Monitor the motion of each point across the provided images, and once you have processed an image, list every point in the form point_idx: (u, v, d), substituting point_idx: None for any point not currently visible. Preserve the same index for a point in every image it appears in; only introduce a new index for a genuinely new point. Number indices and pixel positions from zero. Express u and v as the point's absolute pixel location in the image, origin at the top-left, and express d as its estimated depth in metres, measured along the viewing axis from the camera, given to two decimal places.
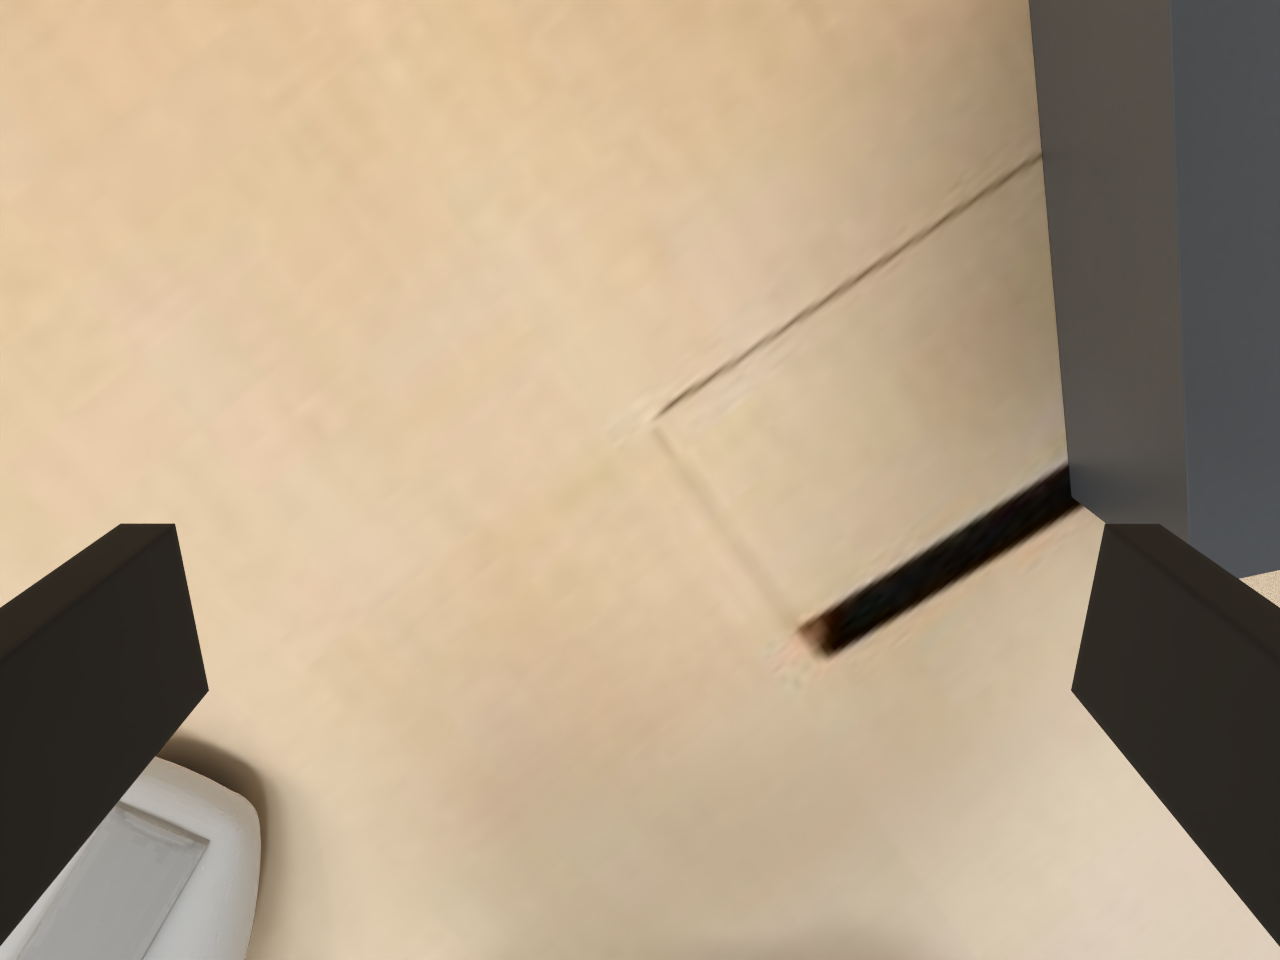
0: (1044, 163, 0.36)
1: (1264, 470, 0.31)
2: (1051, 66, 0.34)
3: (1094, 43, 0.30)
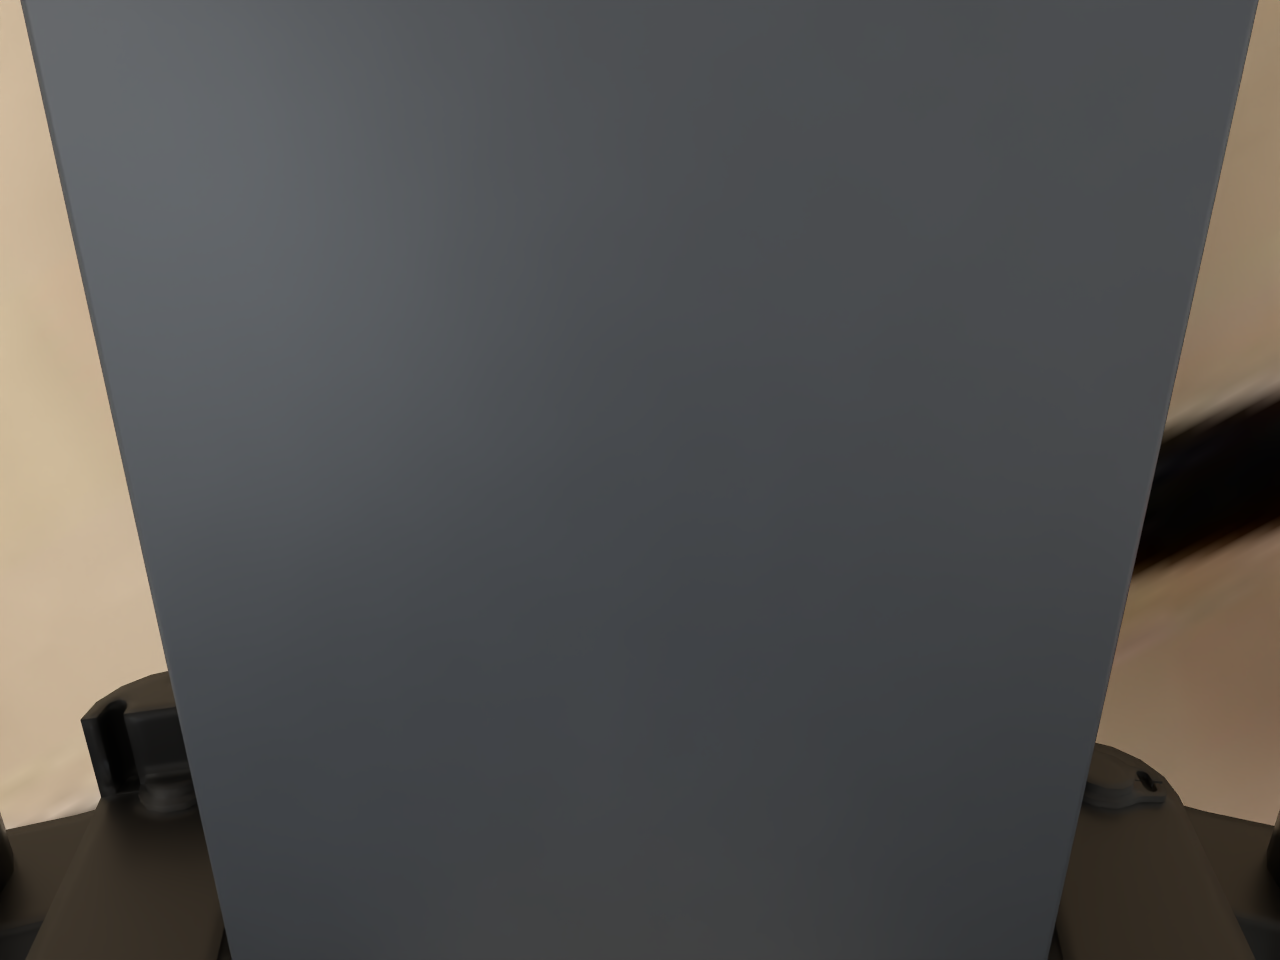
0: None
1: None
2: None
3: None
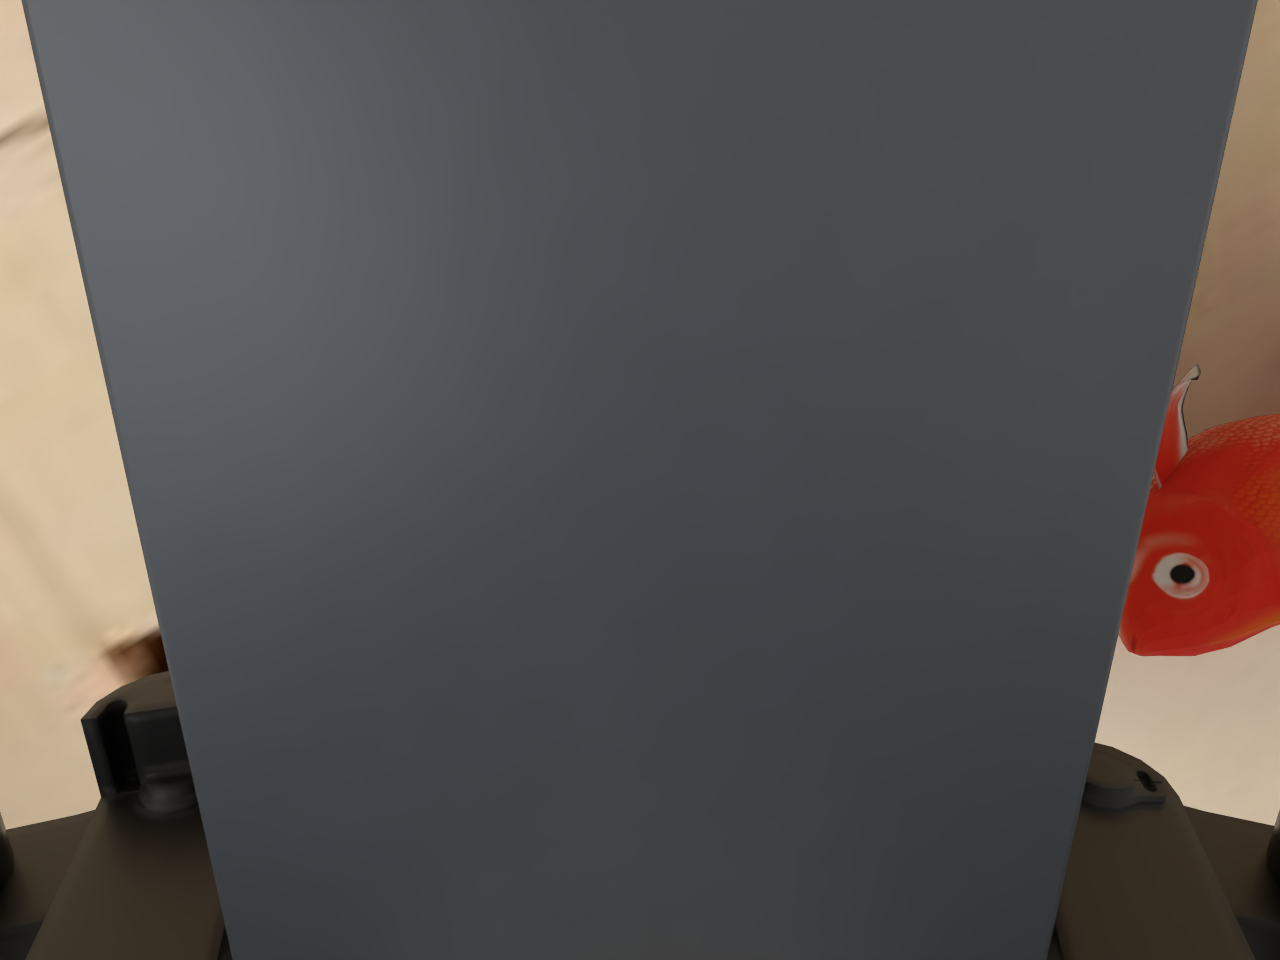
0: None
1: None
2: None
3: None
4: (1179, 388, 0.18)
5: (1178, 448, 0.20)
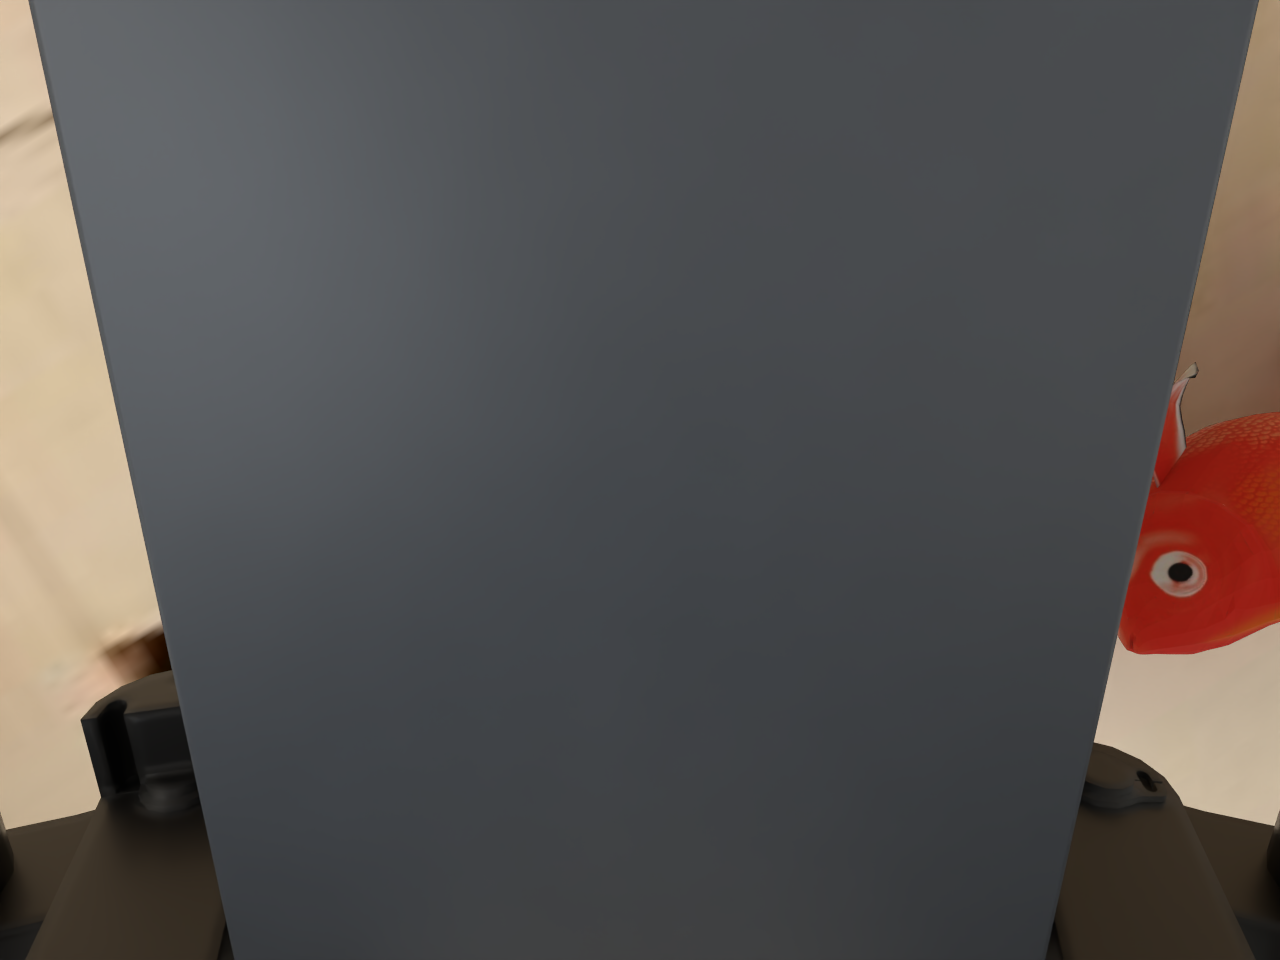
0: None
1: None
2: None
3: None
4: (1177, 386, 0.18)
5: (1176, 446, 0.20)
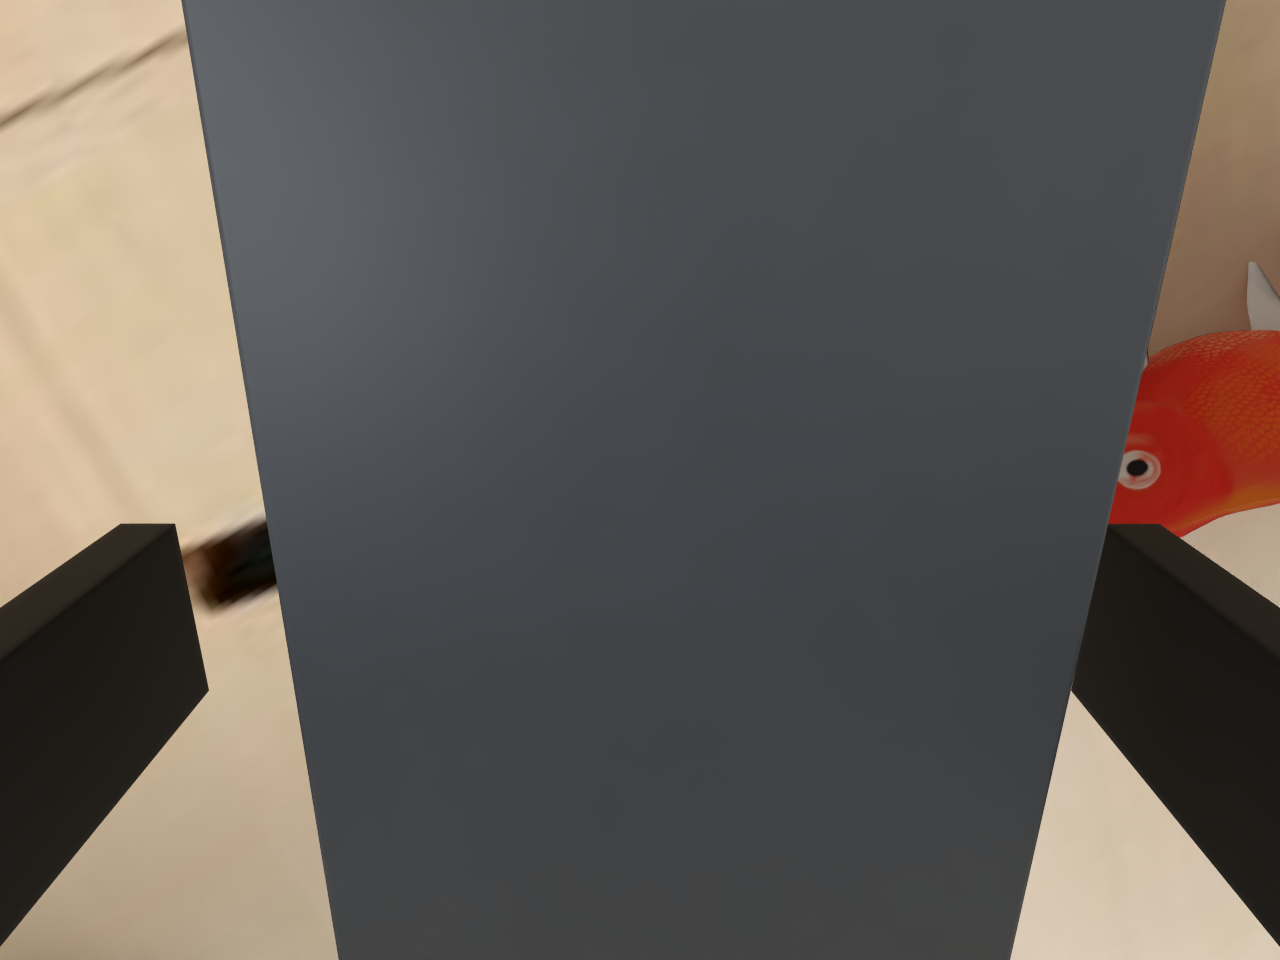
0: None
1: (703, 877, 0.06)
2: None
3: None
4: None
5: None
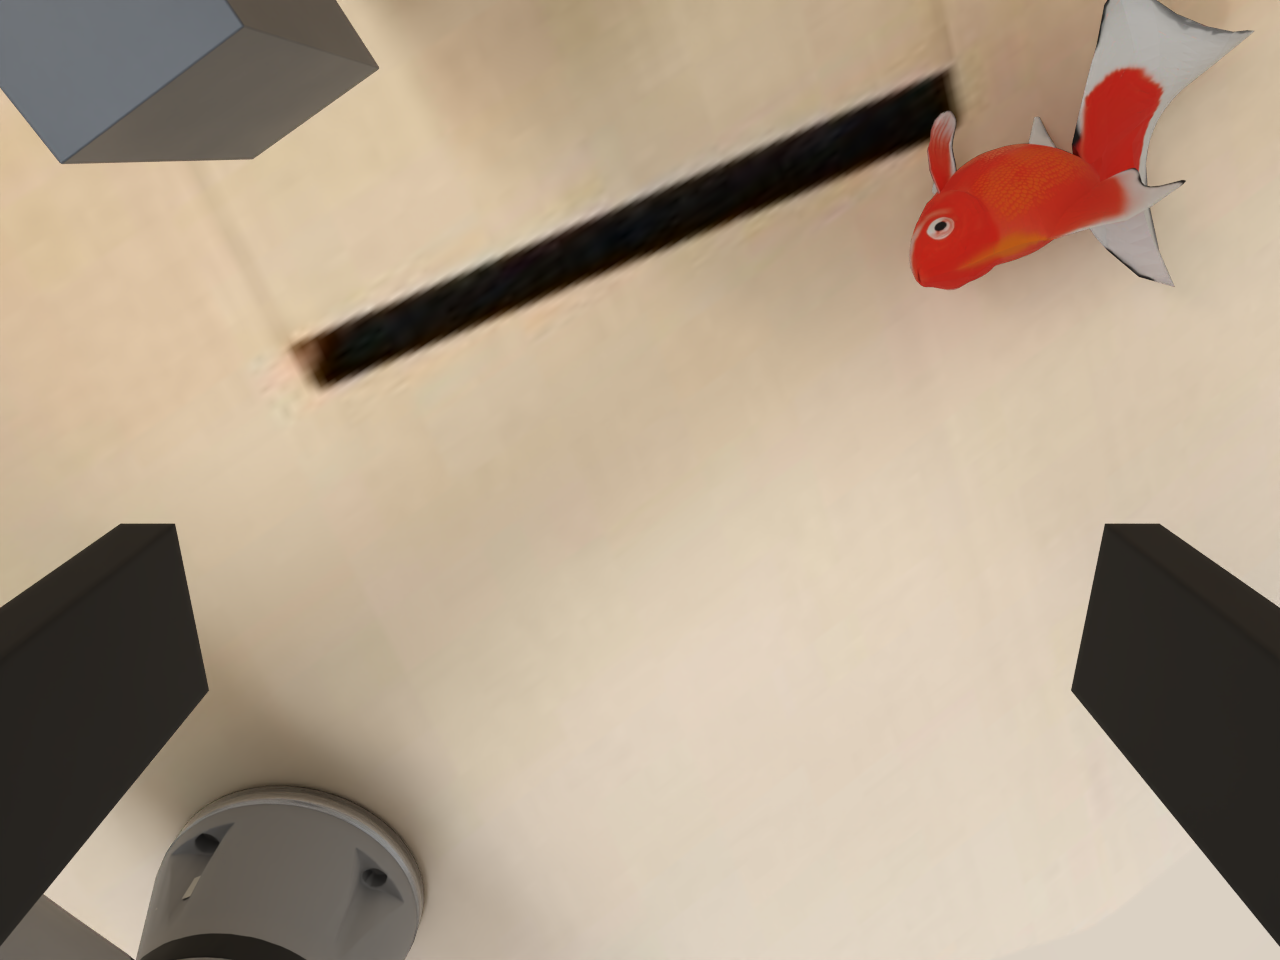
0: None
1: None
2: None
3: None
4: (938, 122, 0.33)
5: (949, 169, 0.34)
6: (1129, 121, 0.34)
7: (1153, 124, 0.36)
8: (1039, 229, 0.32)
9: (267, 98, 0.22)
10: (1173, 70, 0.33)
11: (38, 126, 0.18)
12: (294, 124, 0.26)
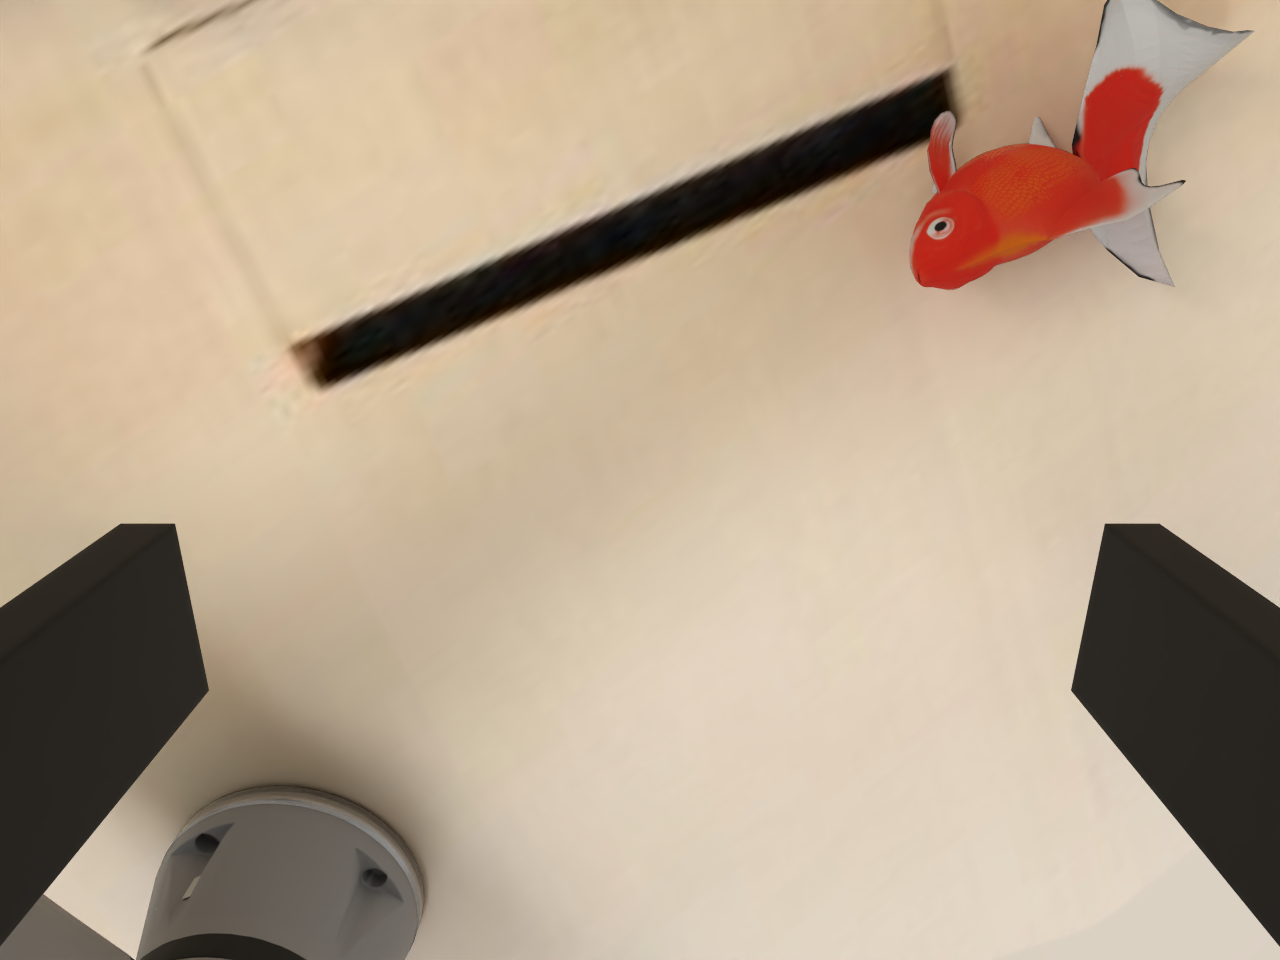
0: None
1: None
2: None
3: None
4: (938, 122, 0.33)
5: (949, 169, 0.34)
6: (1129, 121, 0.34)
7: (1153, 124, 0.36)
8: (1039, 229, 0.32)
9: None
10: (1173, 70, 0.33)
11: None
12: None
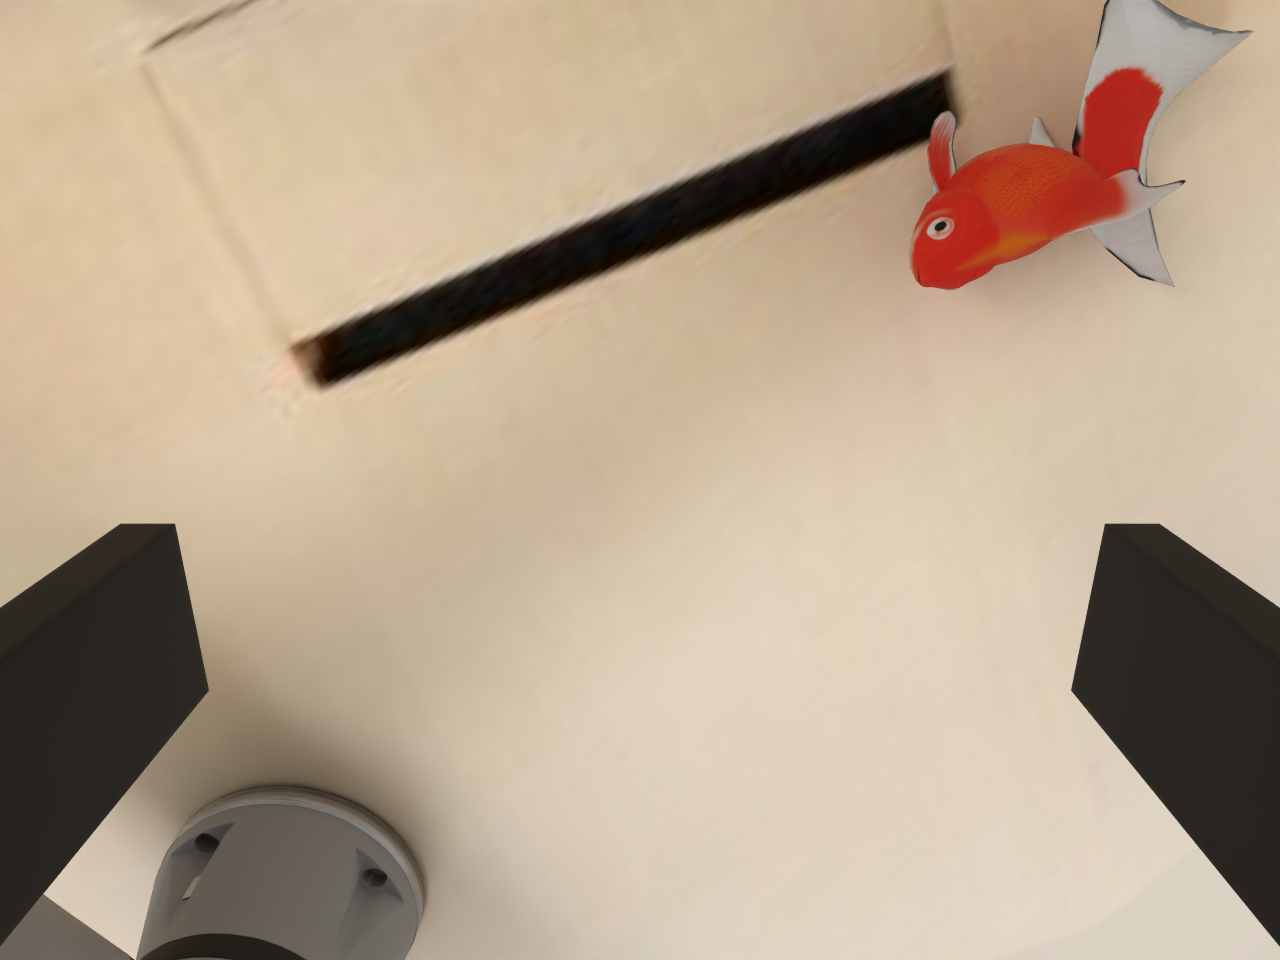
0: None
1: None
2: None
3: None
4: (938, 122, 0.33)
5: (949, 169, 0.34)
6: (1129, 121, 0.34)
7: (1153, 124, 0.36)
8: (1039, 229, 0.32)
9: None
10: (1173, 70, 0.33)
11: None
12: None
